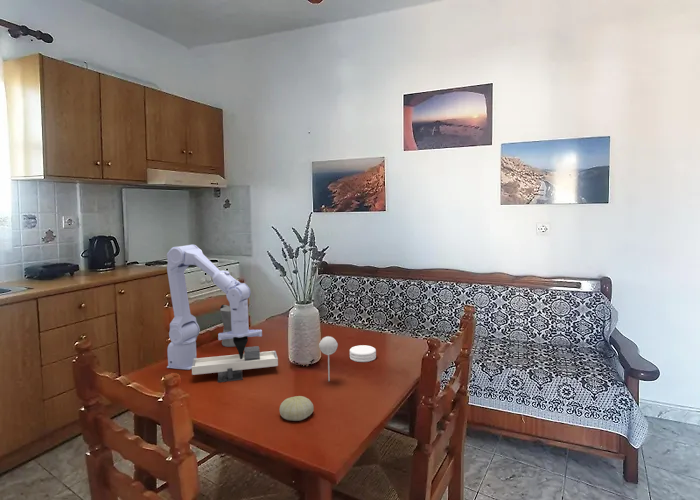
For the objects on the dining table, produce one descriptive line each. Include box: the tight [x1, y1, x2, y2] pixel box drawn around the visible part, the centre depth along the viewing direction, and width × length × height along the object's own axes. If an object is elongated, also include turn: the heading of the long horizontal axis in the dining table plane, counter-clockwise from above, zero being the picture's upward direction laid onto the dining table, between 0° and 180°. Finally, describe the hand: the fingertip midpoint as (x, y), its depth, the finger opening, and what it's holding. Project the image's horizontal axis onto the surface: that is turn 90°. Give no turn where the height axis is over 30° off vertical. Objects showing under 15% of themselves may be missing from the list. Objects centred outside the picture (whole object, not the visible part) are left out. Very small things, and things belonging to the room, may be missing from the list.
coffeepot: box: [219, 302, 236, 348], centre depth 184 cm, size 15×9×18 cm, turn 44°
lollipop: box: [318, 335, 339, 382], centre depth 143 cm, size 6×6×15 cm
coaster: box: [349, 344, 377, 363], centre depth 166 cm, size 10×10×4 cm
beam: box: [191, 350, 279, 376], centre depth 151 cm, size 28×8×3 cm, turn 106°
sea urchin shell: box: [279, 395, 314, 422], centre depth 121 cm, size 9×8×8 cm
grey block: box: [243, 345, 261, 361], centre depth 152 cm, size 5×5×4 cm
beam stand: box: [217, 368, 244, 383], centre depth 151 cm, size 8×12×4 cm, turn 16°
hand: (241, 358), depth 151 cm, fingers closed
